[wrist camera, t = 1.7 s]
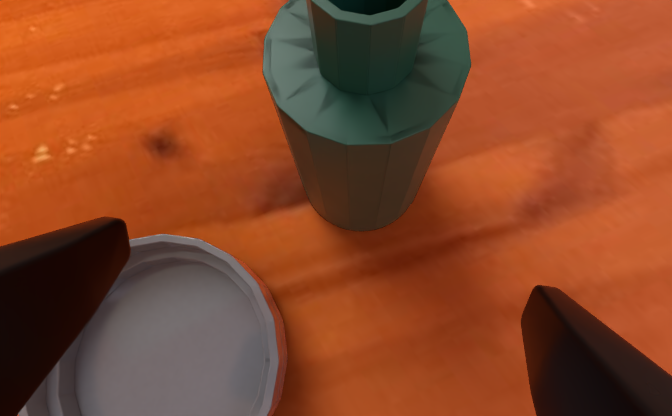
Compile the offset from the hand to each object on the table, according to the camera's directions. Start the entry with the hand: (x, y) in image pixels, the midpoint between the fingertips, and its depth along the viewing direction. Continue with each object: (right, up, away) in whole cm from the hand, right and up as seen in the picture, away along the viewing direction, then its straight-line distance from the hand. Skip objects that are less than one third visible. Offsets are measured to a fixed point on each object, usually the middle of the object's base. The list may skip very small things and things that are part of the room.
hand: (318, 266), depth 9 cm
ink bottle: (+2, +3, +15) cm, 15 cm away
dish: (-8, -7, +12) cm, 16 cm away
